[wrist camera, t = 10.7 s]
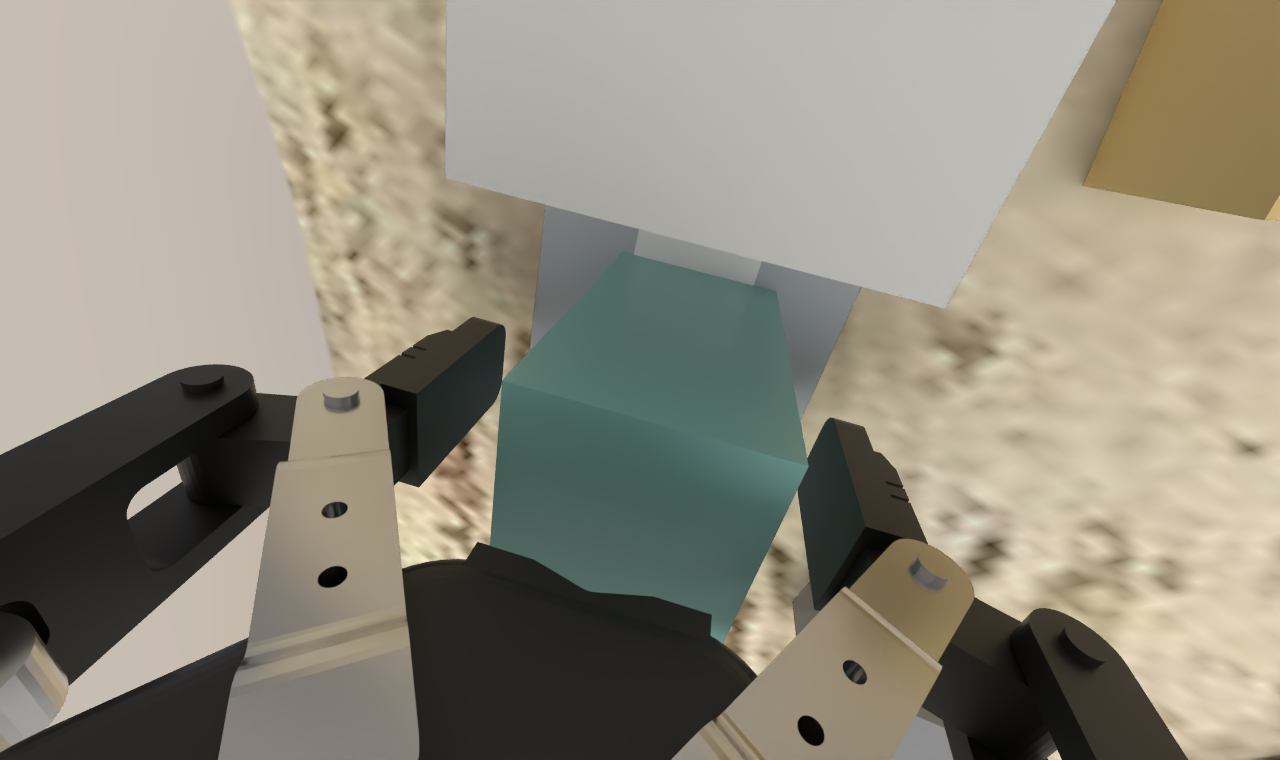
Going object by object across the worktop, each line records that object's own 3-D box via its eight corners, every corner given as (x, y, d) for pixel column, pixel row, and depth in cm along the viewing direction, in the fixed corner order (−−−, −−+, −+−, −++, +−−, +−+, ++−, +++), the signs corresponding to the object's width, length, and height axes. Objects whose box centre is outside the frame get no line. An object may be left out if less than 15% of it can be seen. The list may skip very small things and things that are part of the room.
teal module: (622, 251, 14) (501, 380, 7) (776, 291, 14) (808, 466, 7) (595, 396, 16) (485, 598, 10) (725, 433, 16) (711, 668, 9)
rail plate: (618, -296, 10) (127, -1906, 2) (1066, -211, 9) (2796, -1999, 1) (516, 556, 23) (392, 790, 15) (703, 613, 22) (680, 890, 14)
